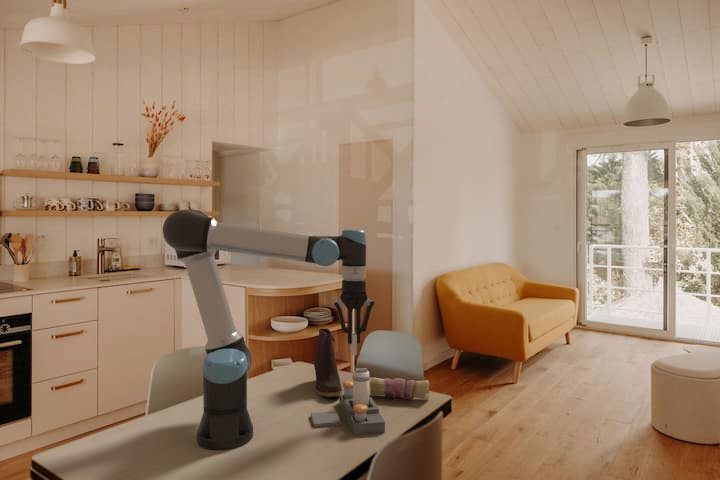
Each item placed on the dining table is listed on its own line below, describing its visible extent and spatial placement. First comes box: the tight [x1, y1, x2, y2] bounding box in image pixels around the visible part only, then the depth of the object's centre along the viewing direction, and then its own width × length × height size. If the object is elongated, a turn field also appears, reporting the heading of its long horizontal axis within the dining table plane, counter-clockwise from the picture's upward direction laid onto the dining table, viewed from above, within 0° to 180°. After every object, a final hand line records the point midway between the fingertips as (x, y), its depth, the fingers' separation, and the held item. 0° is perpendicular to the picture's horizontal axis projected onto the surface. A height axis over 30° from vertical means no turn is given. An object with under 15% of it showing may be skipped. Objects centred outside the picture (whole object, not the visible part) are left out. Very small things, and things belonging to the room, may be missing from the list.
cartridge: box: [352, 367, 371, 408], centre depth 153 cm, size 5×5×15 cm
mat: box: [310, 411, 342, 428], centre depth 150 cm, size 8×8×1 cm
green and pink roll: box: [369, 376, 430, 402], centre depth 170 cm, size 8×8×20 cm
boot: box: [313, 327, 343, 398], centre depth 177 cm, size 9×24×20 cm, turn 17°
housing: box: [339, 393, 386, 436], centre depth 154 cm, size 9×24×4 cm, turn 12°
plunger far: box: [342, 380, 353, 399], centre depth 161 cm, size 4×4×5 cm
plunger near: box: [353, 404, 368, 422], centre depth 145 cm, size 4×4×5 cm
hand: (353, 353), depth 156 cm, fingers closed
